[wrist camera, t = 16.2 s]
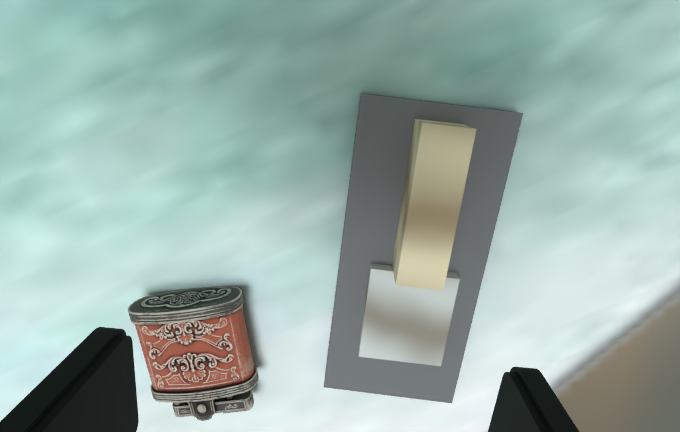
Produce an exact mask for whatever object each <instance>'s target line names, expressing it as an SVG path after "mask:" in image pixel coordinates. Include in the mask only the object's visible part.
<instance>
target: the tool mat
mask: <svg viewBox="0 0 680 432" xmlns="http://www.w3.org/2000/svg"><path fill="white" fill-rule="evenodd" d="M522 115H523V113H518V112H511V111H502V110H494V109H486V108H478V107H470V106H461V105H453V104H445V103H437V102H429V101H420V100H412V99H404V98H396V97H388V96H379V95H371V94H363V93H361V95H360V103H359V111H358V119H357V127H356V135H355V143H354V151H353V159H352V167H351V175H350V183H349V191H348V199H347V206H346V214H345V222H344V230H343V238H342V246H341V254H340V262H339V270H338V278H337V286H336V294H335V302H334V310H333V318H332V325H331V333H330V341H329V349H328V357H327V365H326V373H325V381H324V387H327V388H335V389H343V390H351V391H359V392H367V393H375V394H383V395H391V396H399V397H407V398H415V399H423V400H431V401H438V402H446V403H452V400H453V396H454V392H455V388H456V384H457V380H458V376H459V372H460V368H461V364H462V360H463V355H464V351H465V347H466V343H467V339H468V335H469V331H470V327H471V323H472V319H473V315H474V311H475V307H476V302H477V298H478V294H479V290H480V286H481V282H482V278H483V274H484V270H485V266H486V262H487V258H488V254H489V249H490V245H491V241H492V237H493V233H494V229H495V225H496V221H497V217H498V213H499V209H500V205H501V201H502V196H503V192H504V188H505V184H506V180H507V176H508V172H509V168H510V164H511V160H512V156H513V152H514V148H515V143H516V139H517V135H518V131H519V127H520V123H521V119H522ZM415 119H421V120H430V121H439V122H448V123H457V124H464V125H467V126H470V127H472V128H475V129H476V134H475V139H474V144H473V149H472V154H471V159H470V164H469V168H468V173H467V178H466V183H465V188H464V193H463V198H462V203H461V208H460V212H459V217H458V222H457V227H456V232H455V237H454V242H453V247H452V252H451V256H450V261H449V266H448V271H447V272H455V273H457V275H458V277H459V279H460V281H459V285H458V290H457V294H456V299H455V304H454V308H453V313H452V318H451V322H450V327H449V332H448V336H447V341H446V345H445V350H444V355H443V359H442V364H441V366H434V365H426V364H417V363H409V362H400V361H392V360H383V359H374V358H366V357H359V341H360V334H361V327H362V320H363V313H364V306H365V299H366V292H367V285H368V277H369V270H370V263H376V264H385V265H392V262H393V256H394V249H395V243H396V237H397V231H398V224H399V218H400V212H401V205H402V199H403V193H404V186H405V180H406V174H407V167H408V161H409V155H410V148H411V142H412V136H413V130H414V123H415Z"/></svg>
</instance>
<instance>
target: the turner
mask: <svg viewBox="0 0 680 432" xmlns="http://www.w3.org/2000/svg"><path fill="white" fill-rule="evenodd" d="M475 134H476V129H475V128H472V127H470V126H467V125H464V124H457V123H448V122H439V121H430V120H421V119H415V123H414V130H413V136H412V142H411V148H410V155H409V161H408V167H407V174H406V180H405V186H404V193H403V199H402V205H401V212H400V218H399V224H398V231H397V237H396V243H395V249H394V256H393V262H392V265H385V264H376V263H370V270H369V277H368V285H367V292H366V299H365V306H364V313H363V320H362V327H361V334H360V341H359V357H366V358H374V359H383V360H392V361H400V362H409V363H417V364H426V365H434V366H441V364H442V359H443V355H444V350H445V345H446V341H447V336H448V332H449V327H450V322H451V318H452V313H453V308H454V304H455V299H456V294H457V290H458V285H459V281H460V279H459V277H458V275H457V273H455V272H447V271H448V266H449V261H450V256H451V252H452V247H453V242H454V237H455V232H456V227H457V222H458V217H459V212H460V208H461V203H462V198H463V193H464V188H465V183H466V178H467V173H468V168H469V164H470V159H471V154H472V149H473V144H474V139H475Z"/></svg>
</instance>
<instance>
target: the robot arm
mask: <svg viewBox="0 0 680 432" xmlns="http://www.w3.org/2000/svg"><path fill="white" fill-rule="evenodd" d="M137 427H138V408H137V396H136V383H135V371H134V358H133V345H132V338H131V337H130V336H126V332H125V331H124V330H123V329H115V328H105V327H99V328H96V329H95V330H94V331H93V332H92V333H91V334H90V335H89V336H88V337H87V338H86V339H85V340H84V341H83V342H82V343H81V344H80V345H78V346H77V347H76V348H75V349H74V350H73V351H72V352H71V353H70V354H69V355H68V356H67V357H66V358H65V359H64V360H63V361H62V362H61V363H60V364H59V365H58V366H57V367H56V368H55V369H54V370H53V371H52V372H51V373H50V374H49V375H48V376H47V377H46V378H45V379H44V380H43V381H42V382H41V383H40V384H39V385H37V386H36V387H35V388H34V389H33V390H32V391H31V392H30V393H29V394H28V395H27V396H26V397H25V398H24V399H23V400H22V401H21V402H20V403H19V404H18V405H17V406H16V407H15V408H14V409H13V410H12V411H11V412H10V413H9V414H8V415H7V416H6V417H5V418H4V419H3V420H2V421H1V422H0V432H136V430H137ZM488 432H579V431H578V429H577V428H576V426H575V424H574V423H573V421H572V420H571V418H570V417H569V415H568V414H567V412H566V410H565V409H564V407H563V406H562V404H561V403H560V401H559V400H558V398H557V397H556V395H555V393H554V392H553V390H552V389H551V387H550V386H549V384H548V383H547V381H546V380H545V378H544V376H543V375H542V373H541V372H540V371H539V370H538V369H533V368H522V367H513V368H512V369H511V370H510V372H505V373H504V375H503V378H502V382H501V385H500V389H499V393H498V396H497V400H496V404H495V408H494V411H493V415H492V419H491V423H490V426H489V430H488Z"/></svg>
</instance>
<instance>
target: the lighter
mask: <svg viewBox="0 0 680 432" xmlns="http://www.w3.org/2000/svg"><path fill="white" fill-rule="evenodd" d="M243 303H244V300H243V295H242V290H241V289H240V288H238V287H207V288H194V289H186V290H179V291H172V292H166V293H161V294H156V295H150V296H146V297H143V298H141V299H139V300H137V301H135V302H133V303H132V304H131V305H130V306H129V308H128V312H129V316H130V319H131V322H132V323H133V324H135V326H136V329H137V333H138V336H139V340H140V343H141V347H142V350H143V354H144V357H145V361H146V364H147V368H148V371H149V374H150V378H151V381H152V385H151V391H152V395H153V398H154V399H155V400H156V401H158V402H173V409H174V412H175V416H176V417H185V416H194V417H196V418H197V419H199V420H202V421H204V420H209V419H211V417H212V415H213V414H215V413H222V412H223V413H230V412H239V411H248V410H250V409H251V408H252V407H253V404H254V399H253V394H252V390H251V389H252V388H253V387H254V386H255V385H256V384H257V382H258V372H257V368H256V366H255V365H254V364H253V359H252V354H251V349H250V343H249V338H248V333H247V328H246V323H245V318H244V313H243V308H242V305H243Z"/></svg>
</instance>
